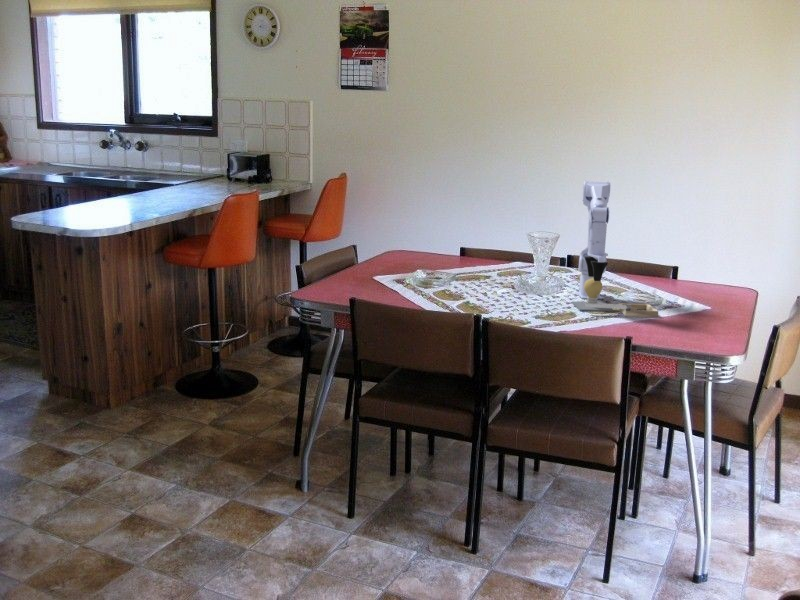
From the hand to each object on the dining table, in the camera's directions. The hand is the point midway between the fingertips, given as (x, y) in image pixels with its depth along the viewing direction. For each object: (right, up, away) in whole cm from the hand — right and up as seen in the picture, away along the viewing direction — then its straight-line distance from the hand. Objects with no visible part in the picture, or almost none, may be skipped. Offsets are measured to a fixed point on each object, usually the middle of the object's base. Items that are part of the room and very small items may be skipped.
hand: (594, 278), depth 302 cm
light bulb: (0, -10, +2) cm, 10 cm away
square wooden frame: (+14, -12, -5) cm, 19 cm away
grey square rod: (+3, -11, -10) cm, 15 cm away
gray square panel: (0, -10, +2) cm, 10 cm away
